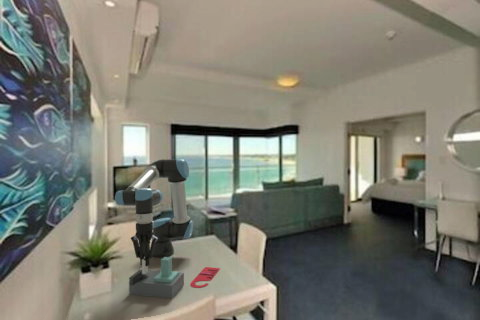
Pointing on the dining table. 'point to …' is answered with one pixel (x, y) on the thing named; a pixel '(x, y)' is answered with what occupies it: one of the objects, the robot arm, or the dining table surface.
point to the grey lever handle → (136, 277)
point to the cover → (166, 271)
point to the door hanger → (204, 276)
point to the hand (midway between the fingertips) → (145, 272)
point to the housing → (157, 286)
